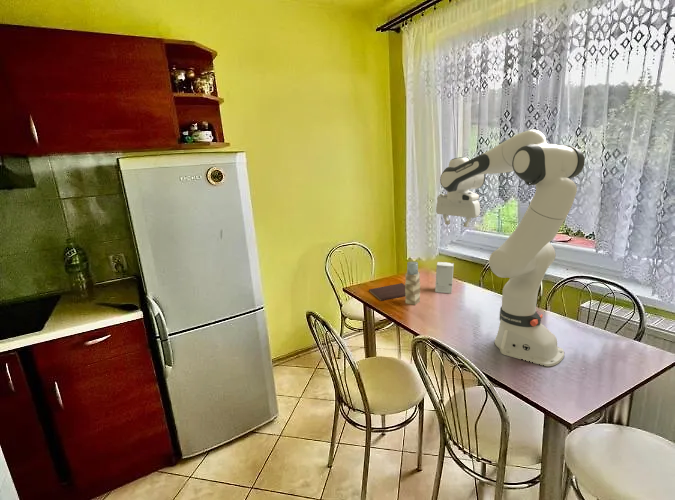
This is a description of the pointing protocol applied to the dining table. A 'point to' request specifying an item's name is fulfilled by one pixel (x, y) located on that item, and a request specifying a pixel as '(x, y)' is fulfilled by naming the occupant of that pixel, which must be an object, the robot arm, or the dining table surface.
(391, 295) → the notebook
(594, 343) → the dining table surface
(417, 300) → the tower base
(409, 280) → the tower top
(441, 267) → the skincare box
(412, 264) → the blue-grey rounded cube
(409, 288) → the tower mid
